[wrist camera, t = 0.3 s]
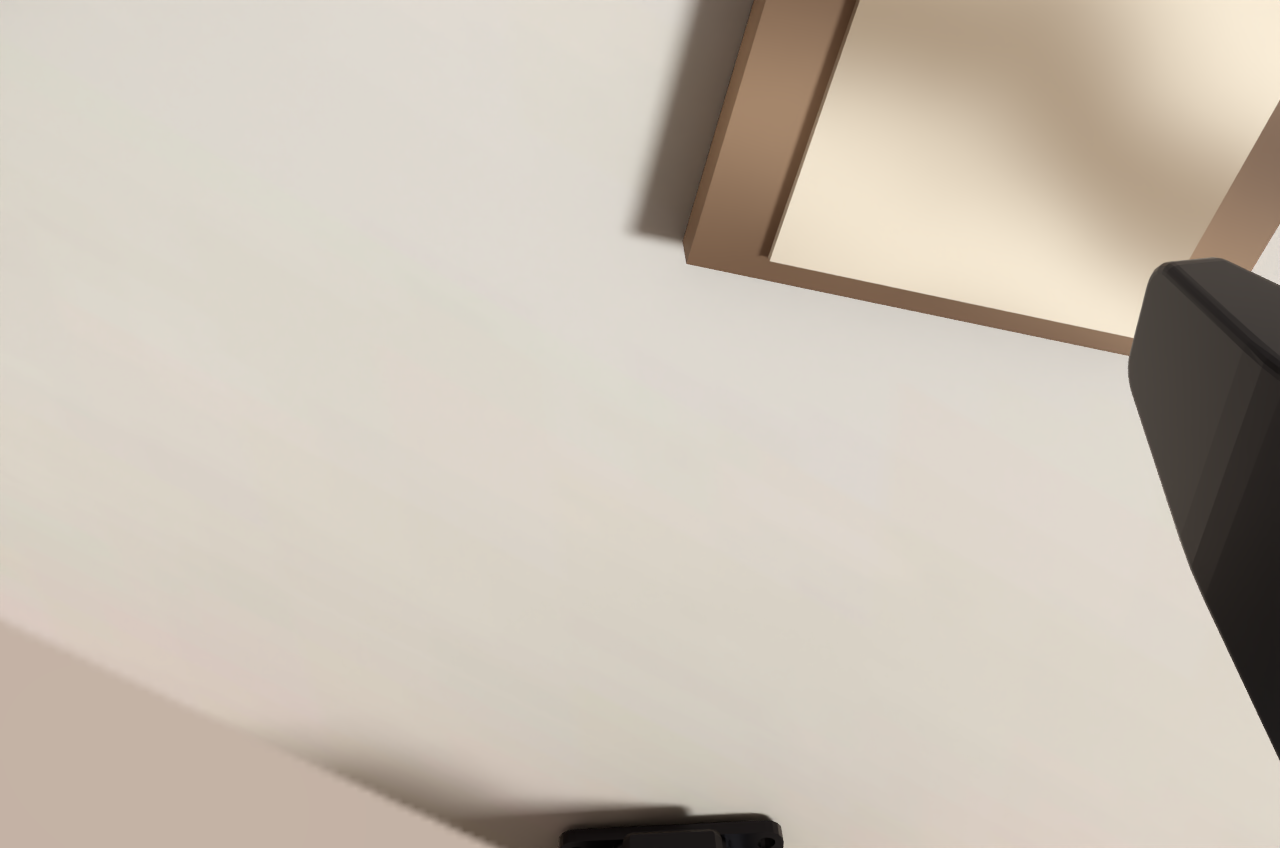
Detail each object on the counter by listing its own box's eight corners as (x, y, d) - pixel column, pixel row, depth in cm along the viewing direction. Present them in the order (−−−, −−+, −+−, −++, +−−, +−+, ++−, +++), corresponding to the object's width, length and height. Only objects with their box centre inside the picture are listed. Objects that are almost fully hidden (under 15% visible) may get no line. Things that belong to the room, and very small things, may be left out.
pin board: (1171, 344, 25) (1262, 453, 22) (683, 241, 23) (700, 342, 20) (1500, -217, 19) (1692, -185, 16) (877, -419, 17) (949, -431, 14)
